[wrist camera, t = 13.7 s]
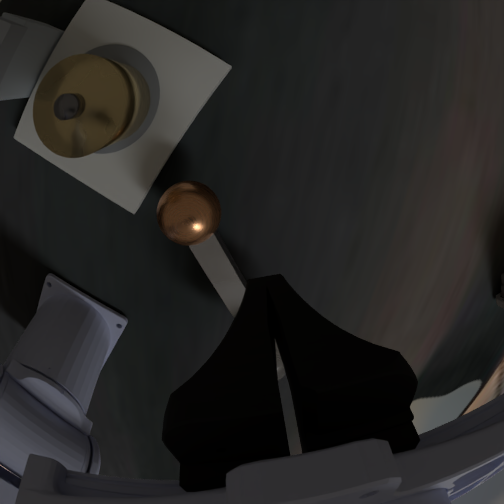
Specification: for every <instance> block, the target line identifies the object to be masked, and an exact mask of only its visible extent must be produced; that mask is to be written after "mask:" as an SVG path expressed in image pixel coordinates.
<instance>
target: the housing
mask: <svg viewBox="0 0 504 504" xmlns="http://www.w3.org/2000/svg"><path fill="white" fill-rule="evenodd" d="M149 108H150V90H149V86H148V84H147V81H146V80H145V78H144V76H143V75H142V74H141V73H140V72H139V71H138V70H137V69H135V68H134V67H132V66H129V65H126V64H123V63H120V62H117V61H113V60H110V59H107V58H103V57H100V56H96V55H92V54H77V55H72V56H70V57H67V58H65V59H63V60H61V61H60V62H58V63H57V64H55V65H54V66H53V67H52V68H51V69H50V70H49V71H48V72H47V73H46V75H45V76H44V78H43V79H42V81H41V82H40V84H39V86H38V89H37V91H36V94H35V98H34V103H33V121H34V126H35V130H36V132H37V135H38V136H39V138H40V140H41V141H42V143H43V144H44V145H45V146H46V147H47V148H48V149H49V150H50V151H52V152H53V153H55V154H57V155H59V156H62V157H66V158H80V157H84V156H87V155H90V154H92V153H94V152H96V151H98V150H101V149H103V148H105V147H107V146H110V145H112V144H114V143H117V142H119V141H121V140H124V139H126V138H128V137H129V136H131V135H132V134H133V133H135V132H136V131H137V130H138V129H139V128H140V126H141V125H142V124H143V122H144V120H145V119H146V116H147V114H148V111H149Z"/></svg>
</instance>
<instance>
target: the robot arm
mask: <svg viewBox="0 0 504 504" xmlns="http://www.w3.org/2000/svg"><path fill="white" fill-rule="evenodd" d="M49 282H50V283H51V285H50V284H49ZM127 322H128V320H127V318H126V317H125V316H123V315H121V314H119V313H118V312H116V311H114V310H112V309H110V308H109V307H107V306H105V305H103V304H102V303H100V302H98V301H96V300H95V299H93V298H91V297H90V296H88V295H86V294H85V293H83V292H81V291H80V290H78V289H76V288H75V287H73V286H71V285H70V284H68V283H67V282H65V281H63V280H62V279H60V278H59V277H57V276H55V275H54V274H52V273H49V274H48V275H47V276H46V279H45V282H44V286H43V289H42V293H41V296H40V300H39V304H38V308H37V312H36V314H35V316H34V317H33V319H32V320H31V322H30V323H29V325H28V326H27V328H26V329H25V331H24V332H23V334H22V336H21V337H20V339H19V340H18V342H17V344H16V345H15V347H14V348H13V350H12V352H11V353H10V355H9V357H8V358H7V360H6V362H5V364H4V365H3V366H2V365H1V364H0V464H1V465H2V466H3V467H5V468H6V469H8V470H9V471H11V472H13V473H14V474H16V475H17V476H19V477H21V478H22V479H20V478H18V477H17V476H15V475H14V474H12V473H10V472H9V471H7V470H6V469H4V468H3V467H1V466H0V504H451V501H453V500H455V499H457V498H458V497H460V496H462V495H464V494H465V493H467V492H469V491H470V490H472V489H474V488H475V487H477V486H479V485H480V484H482V483H483V482H485V481H486V480H488V479H489V478H491V477H492V476H494V475H495V474H497V473H498V472H500V471H501V470H503V469H504V394H502V395H500V396H499V397H497V398H495V399H493V400H492V401H490V402H488V403H486V404H484V405H482V406H481V407H479V408H477V409H475V410H473V411H471V412H469V413H467V414H465V415H463V416H461V417H459V418H457V419H455V420H453V421H451V422H448V423H446V424H444V425H442V426H439V427H437V428H435V429H433V430H430V431H428V432H425V433H423V434H420V435H418V434H417V432H416V429H415V427H414V425H413V423H412V420H413V419H414V416H413V413H412V411H411V409H410V405H411V403H412V400H413V397H414V395H415V392H416V389H417V384H418V381H417V378H416V375H415V374H414V372H413V370H412V368H411V367H410V365H409V364H408V363H407V361H406V360H405V359H404V357H403V356H402V355H401V354H400V352H398V351H395V350H392V349H388V348H385V347H382V346H378V345H375V344H373V343H370V342H368V341H365V340H363V339H360V338H358V337H356V336H354V335H352V334H350V333H348V332H346V331H344V330H343V329H341V328H339V327H338V326H336V325H334V324H333V323H331V322H330V321H328V320H327V319H326V318H324V317H323V316H322V315H320V314H319V313H318V312H317V311H315V310H314V309H313V308H312V307H311V306H310V305H308V304H307V303H306V302H305V301H304V300H303V299H302V298H301V297H300V296H299V295H298V294H297V293H296V292H295V291H294V289H293V288H292V287H291V286H290V285H289V284H288V282H287V281H286V280H285V278H284V277H283V276H282V275H281V274H277V275H271V276H266V277H260V278H254V279H249V280H248V281H247V283H246V289H245V293H244V296H243V299H242V302H241V304H240V307H239V310H238V312H237V314H236V316H235V318H234V321H233V323H232V325H231V327H230V328H229V330H228V332H227V334H226V335H225V337H224V339H223V340H222V342H221V343H220V345H219V346H218V347H217V349H216V350H215V351H214V353H213V354H212V356H211V357H210V358H209V359H208V360H207V362H206V363H205V364H204V365H203V366H202V367H201V368H200V369H199V370H198V371H197V372H196V373H195V374H194V375H193V376H192V377H191V378H190V379H189V380H188V381H187V382H185V383H184V384H183V385H182V386H180V387H179V388H178V389H177V390H176V391H174V392H173V393H172V394H171V395H170V398H169V401H168V404H167V408H166V411H165V415H164V422H163V431H162V441H163V443H164V444H165V446H166V447H167V448H168V450H169V451H170V452H171V453H172V454H173V455H174V457H175V458H176V459H177V460H178V461H179V462H180V480H152V479H135V478H123V477H113V476H105V475H98V474H99V470H100V450H99V446H98V443H97V441H96V440H95V438H94V437H93V436H91V435H90V431H91V427H92V424H93V423H92V422H91V421H90V420H89V419H88V418H87V417H86V413H87V410H88V407H89V403H90V400H91V397H92V394H93V391H94V388H95V385H96V382H97V379H98V376H99V373H100V371H101V369H102V367H103V366H104V364H105V362H106V360H107V358H108V356H109V355H110V353H111V351H112V349H113V347H114V346H115V344H116V342H117V340H118V339H119V337H120V335H121V333H122V332H123V330H124V328H125V326H126V325H127ZM119 324H121V325H119ZM275 340H276V343H277V347H278V350H279V353H280V356H281V360H282V363H283V366H284V369H285V372H286V376H287V379H288V382H289V386H290V390H291V395H292V400H293V405H294V410H295V416H296V421H297V426H298V431H299V437H300V442H301V448H302V453H303V454H297V455H292V456H290V451H289V445H288V439H287V433H286V428H285V422H284V416H283V410H282V404H281V398H280V393H279V386H278V374H277V360H276V346H275Z"/></svg>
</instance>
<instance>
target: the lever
mask: <svg viewBox="0 0 504 504" xmlns="http://www.w3.org/2000/svg"><path fill="white" fill-rule="evenodd" d="M220 219H221V207H220V203H219V200H218V198H217V196H216V195H215V193H214V192H213V191H212V190H211V189H210V188H209V187H208V186H206V185H204V184H202V183H200V182H196V181H182V182H179V183H176V184H174V185H173V186H171V187H170V188H168V189H167V190H166V191H165V192H164V194H163V195H162V196H161V198H160V200H159V203H158V206H157V221H158V224H159V227H160V229H161V231H162V232H163V233H164V235H165V236H166V237H167V238H169V239H170V240H171V241H173V242H175V243H177V244H180V245H187V246H189V247H190V249H191V251H192V252H193V254H194V255H195V257H196V259H197V260H198V262H199V263H200V265H201V267H202V268H203V270H204V272H205V273H206V275H207V276H208V278H209V279H210V281H211V283H212V284H213V286H214V287H215V289H216V290H217V292H218V294H219V295H220V297H221V298H222V300H223V301H224V303H225V304H226V306H227V308H228V309H229V311H230V312H231V314H232V315H233V317H234V318H235V316H236V314H237V312H238V310H239V307H240V304H241V302H242V299H243V296H244V293H245V289H246V283H247V282H246V281H245V279H244V277H243V275H242V273H241V272H240V270H239V268H238V266H237V265H236V263H235V261H234V259H233V258H232V256H231V254H230V252H229V250H228V249H227V247H226V245H225V243H224V242H223V240H222V238H221V236H220V234H219V233H218V231H217V228H218V226H219V223H220Z"/></svg>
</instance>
